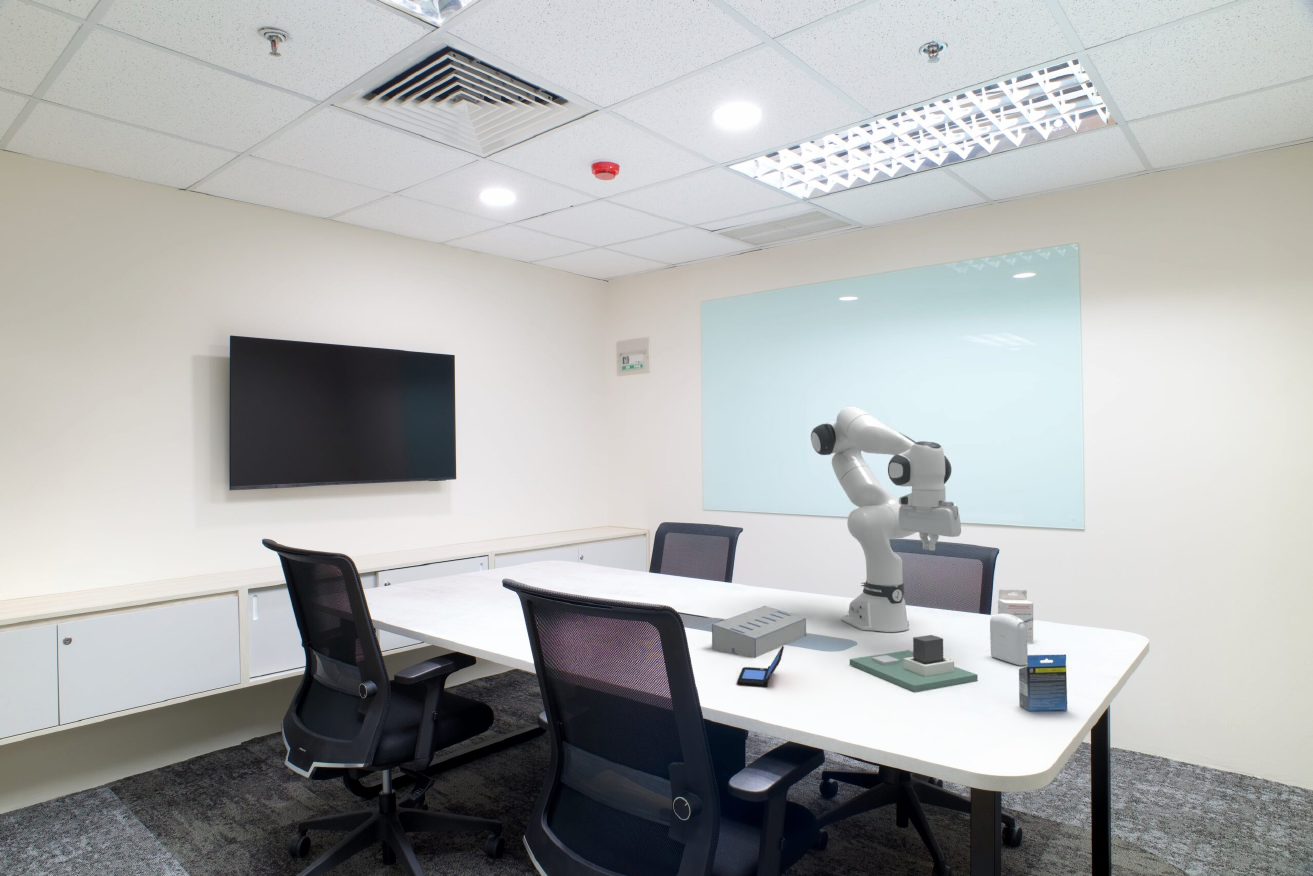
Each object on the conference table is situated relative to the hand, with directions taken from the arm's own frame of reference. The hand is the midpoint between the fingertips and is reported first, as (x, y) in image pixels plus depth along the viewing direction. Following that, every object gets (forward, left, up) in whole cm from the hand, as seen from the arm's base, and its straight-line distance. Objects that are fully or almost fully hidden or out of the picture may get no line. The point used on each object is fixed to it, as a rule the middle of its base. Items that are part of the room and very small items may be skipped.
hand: (929, 549), depth 205 cm
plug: (+14, -14, -28) cm, 34 cm away
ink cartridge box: (-1, +34, -29) cm, 45 cm away
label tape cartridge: (+42, -8, -29) cm, 52 cm away
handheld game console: (-2, -53, -30) cm, 61 cm away
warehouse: (-32, -35, -30) cm, 56 cm away
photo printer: (+13, +15, -29) cm, 35 cm away
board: (+10, -16, -29) cm, 35 cm away
